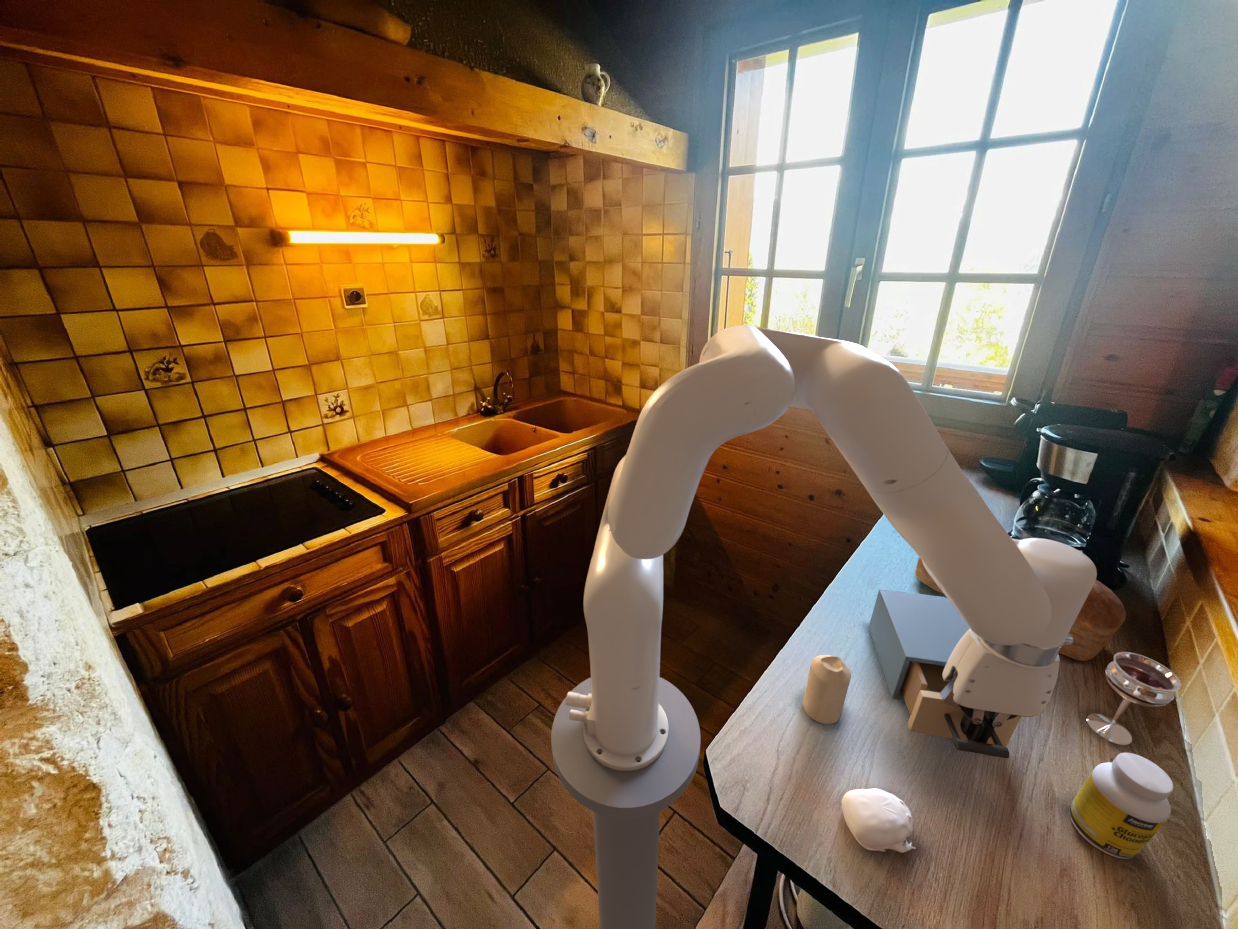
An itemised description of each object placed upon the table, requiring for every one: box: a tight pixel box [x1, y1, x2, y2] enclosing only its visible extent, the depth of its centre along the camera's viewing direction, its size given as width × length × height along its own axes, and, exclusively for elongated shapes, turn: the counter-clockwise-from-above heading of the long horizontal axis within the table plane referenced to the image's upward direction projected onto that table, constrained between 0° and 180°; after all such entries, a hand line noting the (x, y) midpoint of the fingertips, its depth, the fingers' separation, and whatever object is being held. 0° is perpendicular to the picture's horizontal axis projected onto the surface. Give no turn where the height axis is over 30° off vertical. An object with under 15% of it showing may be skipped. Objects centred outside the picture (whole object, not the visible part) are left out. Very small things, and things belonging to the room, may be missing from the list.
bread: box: [915, 556, 1127, 662], centre depth 92 cm, size 12×31×14 cm, turn 35°
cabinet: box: [868, 589, 970, 701], centre depth 81 cm, size 16×14×9 cm
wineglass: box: [1086, 651, 1182, 746], centre depth 70 cm, size 7×7×12 cm
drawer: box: [901, 661, 1022, 760], centre depth 73 cm, size 20×12×7 cm, turn 168°
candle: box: [802, 654, 852, 725], centre depth 74 cm, size 6×6×10 cm
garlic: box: [840, 787, 917, 854], centre depth 60 cm, size 8×7×4 cm
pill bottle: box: [1068, 752, 1175, 860], centre depth 58 cm, size 6×6×12 cm
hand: (972, 736), depth 66 cm, fingers closed
